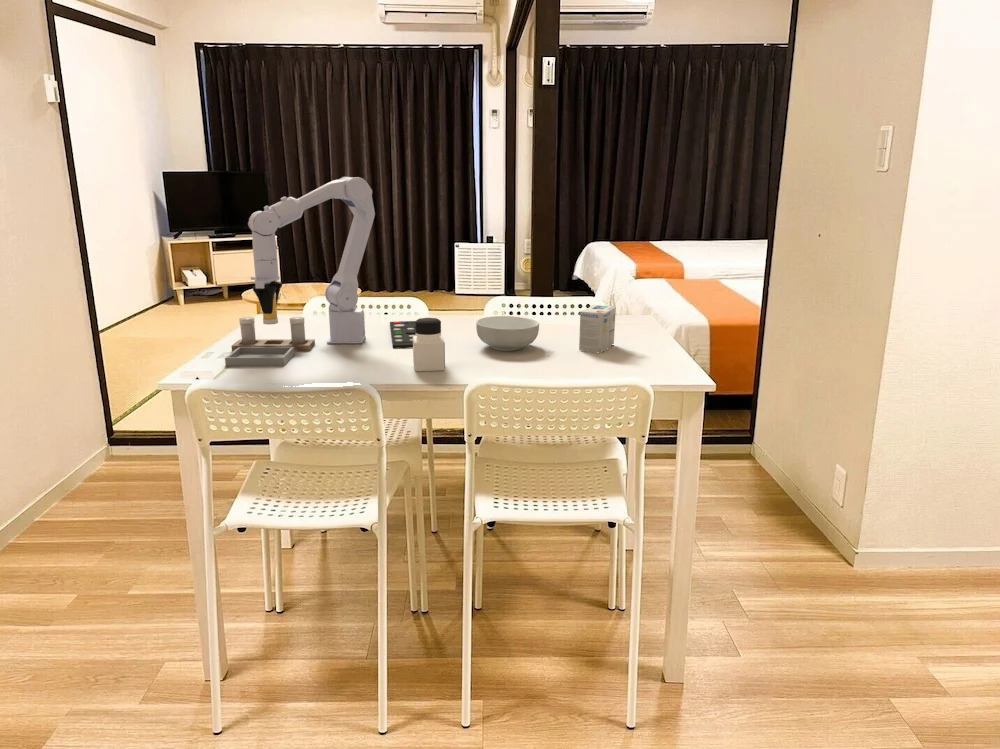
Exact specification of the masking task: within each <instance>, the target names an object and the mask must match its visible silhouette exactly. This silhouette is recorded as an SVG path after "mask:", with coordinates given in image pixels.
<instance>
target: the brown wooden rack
mask: <svg viewBox="0 0 1000 749" xmlns="http://www.w3.org/2000/svg"><path fill="white" fill-rule="evenodd" d="M305 342H306V344H292V338H291V339H288V338H287V339H286V338H285V339H284V338H283V339H282V338H281V339H278V338H277V339H276V338H275V339H272V338H270V339H269V338H268V339H267V338H266V339H264V338H263V339H259V338H258V339H257V338H256V344H242V338H241V339H238V340H237V341H235V342H234V343H233V344H231V352H233V351H234V350H236V349H237V348H238V347H294V349H295V352H310V351H311V350H312V349H313V348H314V346H315V345H316V340H315V338H311V339H309V338H305Z"/></svg>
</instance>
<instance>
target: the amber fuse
mask: <svg viewBox="0 0 1000 749" xmlns="http://www.w3.org/2000/svg"><path fill="white" fill-rule="evenodd" d="M277 308H278V306H277V307H276V292H275V294H274V298H273V311H272V314H263V313H262V324H263V325H276V324H279V317H278V309H277Z"/></svg>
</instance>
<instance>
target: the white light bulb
mask: <svg viewBox="0 0 1000 749" xmlns="http://www.w3.org/2000/svg"><path fill="white" fill-rule="evenodd" d="M239 325H240V326H239V328H240V335H241V337H240V338H241V339H242V344H256V339H257V338H256V337H257V336H256V329H255V328H256V327H255V317H254V316H245V317H244V316H243V317H240V318H239Z"/></svg>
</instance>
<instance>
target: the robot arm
mask: <svg viewBox="0 0 1000 749" xmlns="http://www.w3.org/2000/svg"><path fill="white" fill-rule="evenodd" d="M372 195H373V189H372V188H371V186H370V184H368V182H367V181H366V180H365V178H362V177H359V176H357V177H356V176H355V177H351V176H342V177H341V178H339V179H334V180H331V181H329V182H327V183H325V184H323V185H321V186H319V187H317V188H316V189H314V190H311V191H309V192H308V193H306V194H304V195H302V196H300V197H298V198H296V197H293V196H288V197H287V196H283V197H281V198H280V201H278V202H276V203H274V204H272V205H270V206H269V205H265V206H264V207H263V209H264V210H263V211H262V210H257V211H255V212H253V213H251V215H250V216H249V218H248V222H247V226H248V227H249V228H248V229H250V231H251V234H252V235H251V236H252V237H251V238H252V254H253V262H254V263H253V265H254V266H253V267H254V275H252V276H250V280H252V281H254V286H252V291H253V292H254V294H255V295H256V297H257V299H258V302H259V304H260V308H261V310H262V315H263V314H272V311H273V298H274V294H275V292H276V307H277V308H278V302H279V301H278V300H279V296H280V295H279V294H280V291H281V288H282V286H283V282H281V281H280V279H281V278H280V275H279V264H278V249H277V241H276V231H277V230H278V228H279V229H281V228H284V227H285V226H286V225H288V224H291V223H293V222H295V221H297V220H299V219H301V218H302V216H303V214H304V211H306V210H308V209H310V208H312V207H314V206H317V205H319V204H321V203H324V202H326V201H329V200H330V199H337V200H339V199H340V200H341V201H342V202H344V203H345V204H346V205H347V207H348V208H349V210H350V212H351V213H352V214H353V218H352V222H351V225H350V229H349V232H348V235H347V239H346V241H345V246H344V248H343V249H344V250H343V253H342V257H341V260H340V263H339V266H338V269H337V272H336V273H335V274H334V275H333V277H332V280H331V282H330V284H329V285H328V286H327V287H326V289H325V292H324V294H325V298H326V301H327V302H328V303H329V306H328V320H329V322H328V324H329V336H330V337H329V338H328V340H326V344H363V342H364V340H365V339H366V326H365V325H366V322H365V313H364V309H361V308H356V306H357V303H358V301H359V295H358V288H359V282H358V275H359V271H360V267H361V264H362V261H363V258H364V255H365V254H364V253H365V251H366V247H367V244H368V240H369V237H370V233H371V230H372V228H373V227H372V226H373V223H374V219H375V216H376V212H375V207H374V200H373V196H372Z"/></svg>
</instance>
